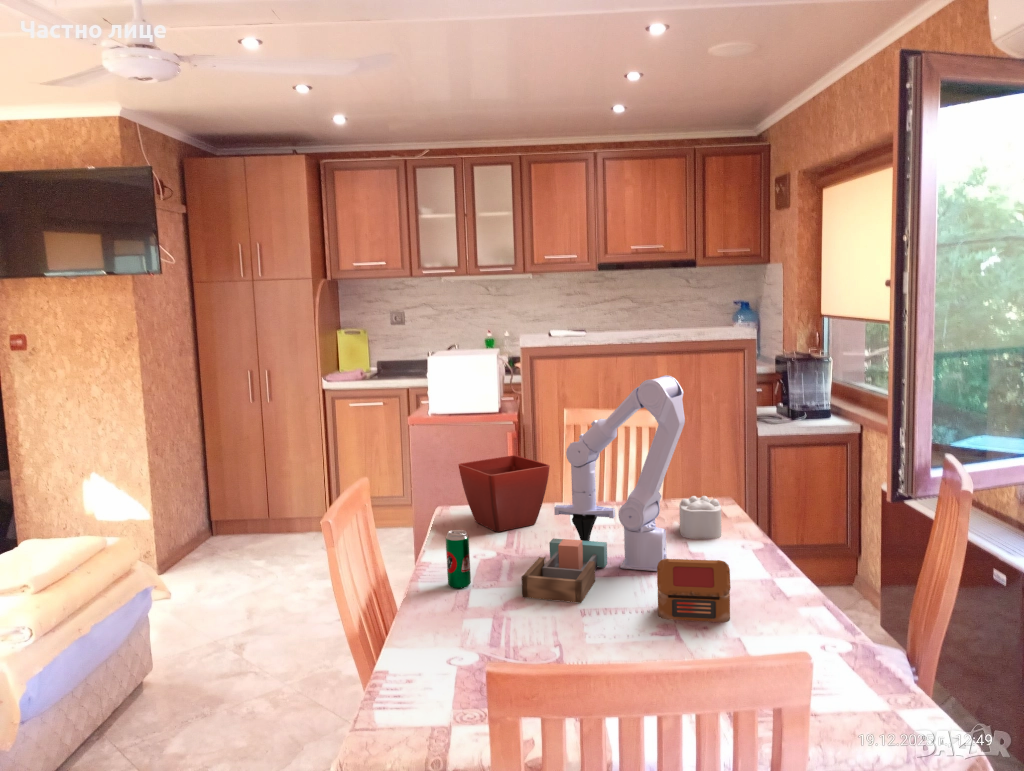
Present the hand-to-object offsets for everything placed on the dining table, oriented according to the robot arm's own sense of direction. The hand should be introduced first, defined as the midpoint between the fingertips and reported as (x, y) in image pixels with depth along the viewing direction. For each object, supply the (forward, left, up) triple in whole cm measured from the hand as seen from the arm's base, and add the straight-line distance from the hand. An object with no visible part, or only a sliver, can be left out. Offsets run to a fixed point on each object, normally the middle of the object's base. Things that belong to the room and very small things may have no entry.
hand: (585, 544), depth 185 cm
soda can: (+22, +26, -3) cm, 34 cm away
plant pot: (+28, -20, -3) cm, 35 cm away
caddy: (0, +22, -2) cm, 22 cm away
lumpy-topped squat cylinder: (-24, -25, -3) cm, 35 cm away
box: (-29, +28, -3) cm, 40 cm away
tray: (0, +12, -2) cm, 12 cm away
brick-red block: (0, +13, -1) cm, 13 cm away
